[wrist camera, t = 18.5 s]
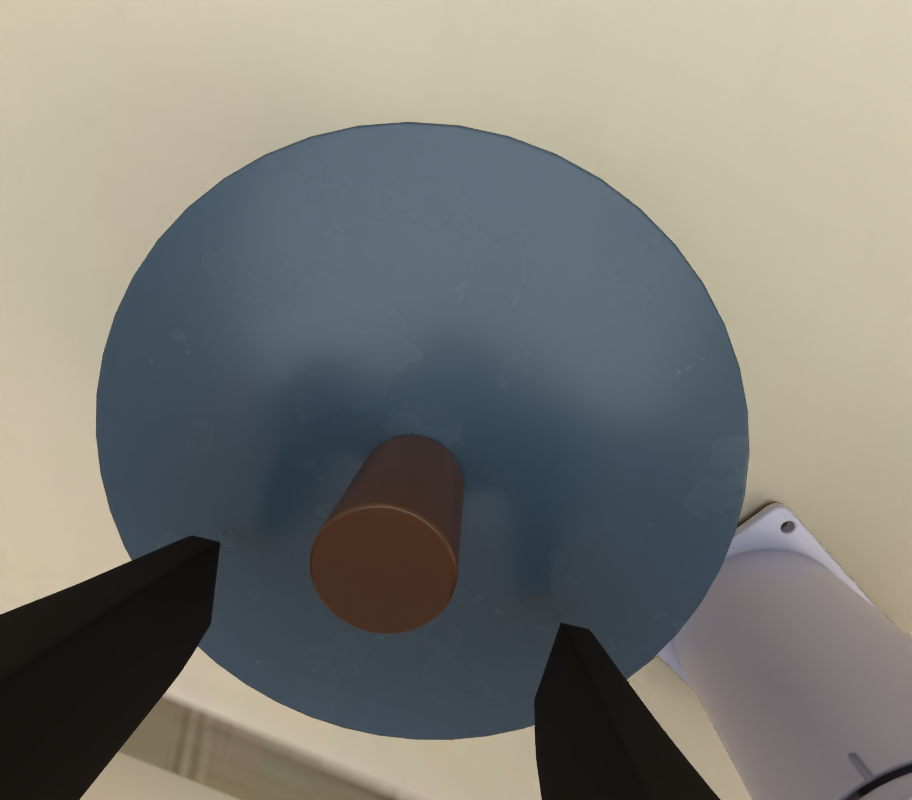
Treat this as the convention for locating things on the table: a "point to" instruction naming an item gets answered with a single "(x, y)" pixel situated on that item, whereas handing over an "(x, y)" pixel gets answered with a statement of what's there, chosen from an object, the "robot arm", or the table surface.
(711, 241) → the table surface
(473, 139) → the lid
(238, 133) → the table surface
